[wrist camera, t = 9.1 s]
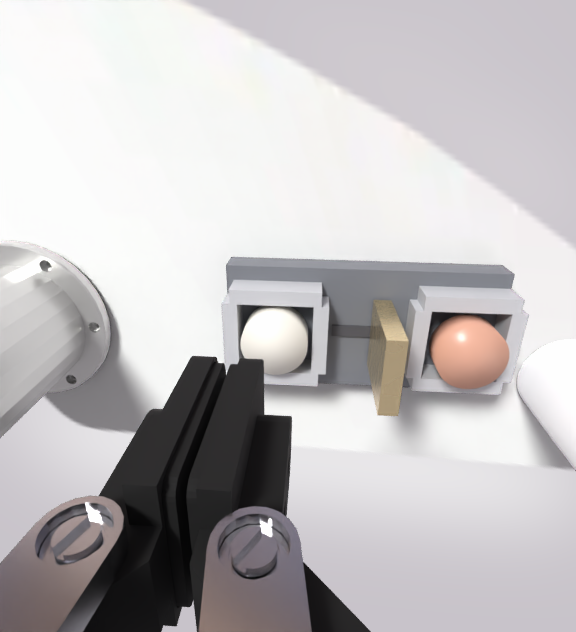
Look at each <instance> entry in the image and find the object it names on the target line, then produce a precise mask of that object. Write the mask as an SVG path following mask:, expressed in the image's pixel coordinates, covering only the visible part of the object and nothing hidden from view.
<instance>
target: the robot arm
mask: <svg viewBox="0 0 576 632" xmlns="http://www.w3.org/2000/svg"><path fill="white" fill-rule="evenodd" d="M110 338H111V330H110V322H109V317H108V314H107V311H106V308H105V305H104V303H103V301H102V300H101V298H100V296H99V294H98V292H97V290H96V289H95V288H94V287H93V285H92V284H91V283H90V281H89V280H88V279H87V278H86V277H85V276H84V275H83V274H82V273H81V272H80V271H79V270H78V269H77V268H76V267H75V266H74V265H72V264H71V263H70V262H68V261H67V260H65V259H64V258H62V257H61V256H60V255H57V254H55V253H53V252H51V251H49V250H47V249H45V248H43V247H40V246H36V245H33V244H30V243H25V242H17V241H1V242H0V438H1V437H2V436H3V435H4V434H5V433H6V432H7V431H8V430H9V429H10V428H11V427H12V426H13V425H14V424H15V423H16V422H17V421H18V420H19V419H20V418H21V417H22V416H23V415H24V414H25V413H27V412H28V411H29V409H31V407H32V406H33V405H35V404H36V403H37V402H38V401H39V400H40V399H41V398H42V397H43V396H44V395H45V394H46V393H58V392H63V391H67V390H71V389H73V388H75V387H77V386H80V385H82V384H83V383H84V382H86V381H87V380H88V379H90V378H91V377H92V376H93V375H94V373H95V372H96V371H97V370H98V369H99V368H100V366H101V365H102V363H103V362H104V360H105V358H106V356H107V353H108V350H109V347H110ZM291 431H292V417H291V416H275V415H264V361H263V359H246V358H240V359H239V362H238V364H230V366H229V369H228V372H227V375H226V369H225V364H224V363H218V361H217V358H216V357H204V356H192V357H191V358H190V360H189V362H188V364H187V366H186V368H185V369H184V371H183V373H182V375H181V377H180V379H179V380H178V382H177V384H176V386H175V388H174V390H173V391H172V393H171V395H170V397H169V399H168V401H167V402H166V404H165V406H164V408H163V409H152V410H150V411H149V413H148V414H147V415H146V417H145V419H144V420H143V422H142V424H141V425H140V427H139V429H138V430H137V432H136V434H135V435H134V437H133V439H132V441H131V442H130V444H129V446H128V447H127V449H126V451H125V452H124V454H123V456H122V457H121V459H120V461H119V463H118V464H117V466H116V468H115V469H114V471H113V473H112V474H111V476H110V478H109V480H108V481H107V483H106V485H105V486H104V488H103V490H102V491H101V493H100V495H99V496H86V497H80V498H75V499H73V500H70V501H68V502H65V503H63V504H60V505H59V506H57V507H56V508H54V509H52V510H51V511H49V512H48V513H46V515H44V516H43V517H42V518H41V519H40V520H39V521H38V522H36V523H35V525H34V526H33V527H32V528H31V529H30V530H29V531H28V532H27V534H26V535H25V536H24V537H23V538H22V539H21V541H19V543H18V544H17V545H16V546H15V547H14V548H13V549H12V550H11V552H10V553H9V554H8V555H7V556H6V557H5V558H4V559H3V561H2V562H1V563H0V632H161V631H162V628H163V625H165V626H177V623H178V619H179V616H180V612H181V609H182V607H190V606H191V605H192V602H193V600H194V608H195V616H196V626H197V632H370V631H369V630H368V628H367V627H366V626H365V625H364V624H363V623H362V622H361V621H360V620H359V619H358V618H357V617H356V616H355V615H354V614H353V613H352V612H351V611H350V610H349V609H348V608H347V607H346V606H345V605H344V604H343V603H342V601H341V600H340V599H339V598H338V597H337V596H335V594H334V593H333V592H332V591H331V590H330V589H329V588H328V587H327V586H326V585H325V584H324V583H323V582H322V581H321V580H320V579H319V578H318V577H317V576H316V575H315V574H314V573H313V571H311V569H309V567H307V565H306V564H305V563H304V562H303V558H302V552H301V551H302V550H301V543H300V538H299V535H298V532H297V529H296V528H295V527H294V525H293V523H292V522H291V521H290V519H289V518H287V517H286V515H287V502H288V490H289V476H290V459H291Z"/></svg>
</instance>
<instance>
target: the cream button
mask: <svg viewBox="0 0 576 632" xmlns="http://www.w3.org/2000/svg"><path fill="white" fill-rule="evenodd" d="M307 348H308V327H307V324H306V321H305V319H304V318H303V316H302V315H301V314H300V313H299V312H298V311H297V310H295V309H294V308H292V307H290V306H264V305H263V306H261V307H259V308H257V309H256V310H255V311H254V312H253V313H252V314H251V315H250V316H249V318H248V320H247V323H246V325H245V328H244V331H243V334H242V337H241V351H242V354H243V356H244V358H246V359H263V361H264V373H266V374H271V375H280V374H285V373H288V372H291V371H293V370H294V369H296V368H297V367H298V366H299V365H300V364H301V363H302V362H303V360H304V359H305V356H306V354H307Z"/></svg>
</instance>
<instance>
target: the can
mask: <svg viewBox="0 0 576 632" xmlns="http://www.w3.org/2000/svg"><path fill="white" fill-rule="evenodd" d="M517 389H518V392H519V394H520V396H521V398H522V399H523V401H524V402H525V404H526V405H527V406H528V408H529V409H530V410H531V412H532V413H533V415H534V416H535V417H536V419H537V420H538V421H539V423H540V424H541V425H542V427H543V428H544V429H545V431H546V432H547V433H548V435H549V436H550V437H551V439H552V440H553V441H554V443H555V444H556V445H557V447H558V448H559V449H560V451H561V452H562V453H563V455H564V456H565V457H566V459H567V460H568V461H569V463H570V464H571V465H572V467H573V468H574V469H575V471H576V340H574V339H568V340H560V341H556V342H552V343H549V344H547V345H544V346H542V347H541V348H539V349H537V350H536V351H535V352H533V353H532V354H531V355H530V356H529V357H528V358H527V359H526V361H525V362H524V363H523V365H522V367H521V368H520V371H519V373H518V377H517Z"/></svg>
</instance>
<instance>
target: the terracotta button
mask: <svg viewBox="0 0 576 632" xmlns="http://www.w3.org/2000/svg"><path fill="white" fill-rule="evenodd" d="M429 353H430V356H431V359H432V361H433V363H434V365H435V367H436V369H437V371H438V373H439V375H440V376H441V378H442V379H443V380H444V381H445V382H446V383H448V384H449V385H451V386H454V387H456V388H461V389H476V388H480V387H483V386H486V385H488V384H490V383H492V382H493V381H495V380H496V379H497V378H498V377H499V376H500V375H501V374H502V373H503V372H504V370H505V369H506V367H507V364H508V361H509V348H508V345H507V343H506V341H505V340H504V338H503V337H502V336H501V335H500V334H499V332H498V331H497V330H496V329H495V328H494V327H493V326H492V325H491V323H490V322H488V321H487V320H486V319H484V318H482V317H480V316H477V315H471V314H463V315H457V316H454V317H451V318H449V319H447V320H445V321H444V322H442V323H441V324H440V325H439V326H438V327H437V328H436V329H435V331H434V332H433V334H432V335H431V338H430V341H429Z"/></svg>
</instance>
